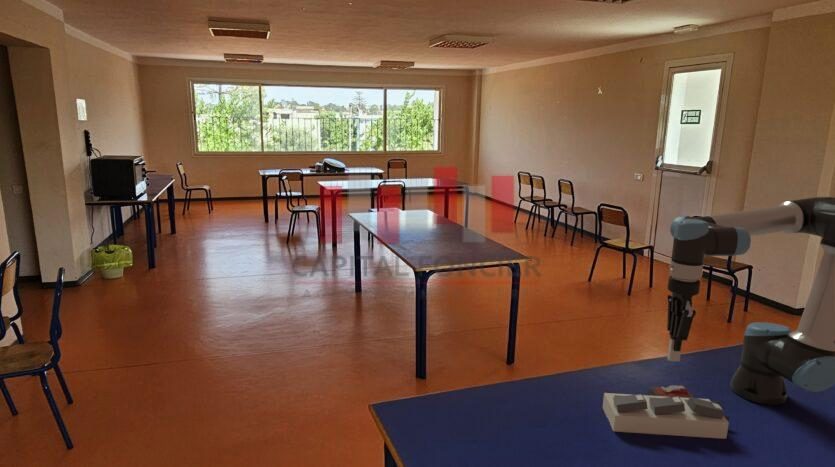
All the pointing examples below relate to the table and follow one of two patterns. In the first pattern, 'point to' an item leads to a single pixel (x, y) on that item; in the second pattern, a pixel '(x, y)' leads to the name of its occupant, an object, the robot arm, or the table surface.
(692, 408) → the block
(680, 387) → the walkie-talkie
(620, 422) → the power strip
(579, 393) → the table surface
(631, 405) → the rocker
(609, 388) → the table surface
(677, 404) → the rocker
